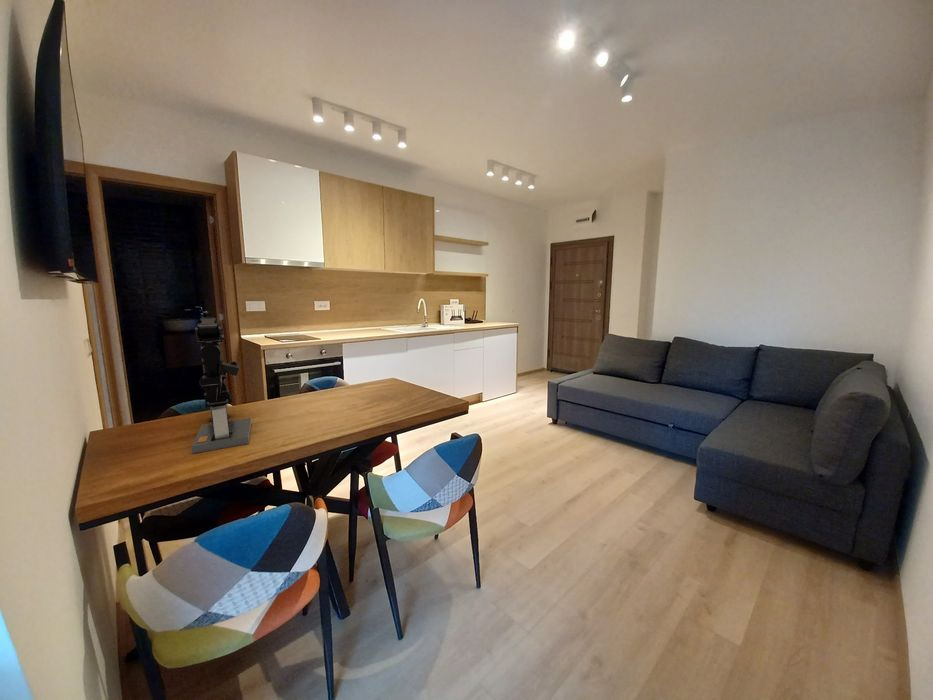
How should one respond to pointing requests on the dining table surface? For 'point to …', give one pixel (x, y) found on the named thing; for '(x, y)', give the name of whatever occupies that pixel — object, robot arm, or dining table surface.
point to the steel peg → (220, 422)
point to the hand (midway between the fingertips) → (216, 398)
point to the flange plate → (237, 436)
